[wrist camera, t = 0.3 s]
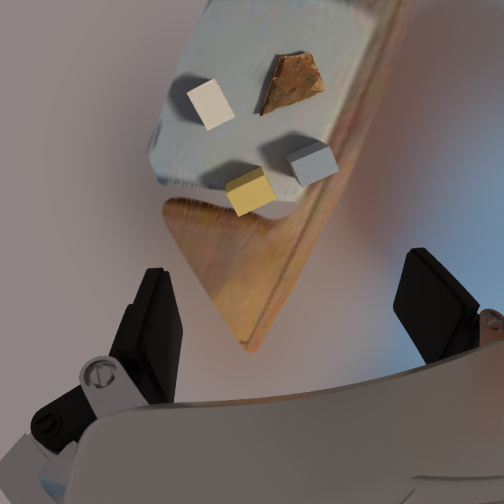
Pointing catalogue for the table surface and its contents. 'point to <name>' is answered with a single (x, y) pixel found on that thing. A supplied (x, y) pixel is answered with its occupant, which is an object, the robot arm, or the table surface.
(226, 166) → the table surface
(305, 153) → the slate brick
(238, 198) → the mustard brick
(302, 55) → the shard
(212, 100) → the cream brick
